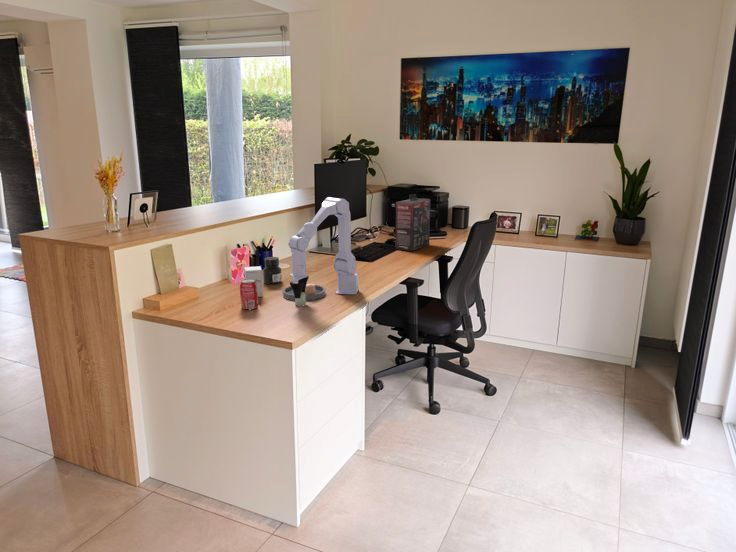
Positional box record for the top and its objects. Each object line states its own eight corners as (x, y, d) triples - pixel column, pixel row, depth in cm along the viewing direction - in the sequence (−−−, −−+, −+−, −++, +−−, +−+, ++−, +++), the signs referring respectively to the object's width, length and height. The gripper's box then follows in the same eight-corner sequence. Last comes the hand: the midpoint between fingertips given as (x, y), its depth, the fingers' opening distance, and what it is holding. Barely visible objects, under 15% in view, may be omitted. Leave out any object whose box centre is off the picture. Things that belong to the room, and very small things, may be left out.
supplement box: (246, 298, 245) (244, 270, 242) (245, 293, 252) (243, 266, 249) (263, 296, 247) (261, 269, 244) (261, 292, 254) (260, 265, 250)
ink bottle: (277, 285, 265) (276, 261, 262) (260, 284, 266) (259, 260, 263) (284, 280, 274) (283, 256, 271) (268, 279, 276) (266, 255, 273)
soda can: (251, 304, 236) (249, 277, 233) (261, 307, 232) (260, 280, 229) (237, 308, 231) (235, 280, 228) (248, 311, 227) (246, 283, 224)
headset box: (413, 242, 362) (414, 192, 353) (430, 244, 356) (431, 193, 347) (394, 249, 342) (395, 195, 333) (412, 252, 335) (413, 197, 327)
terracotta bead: (316, 294, 248) (316, 283, 247) (314, 297, 244) (314, 286, 242) (306, 294, 248) (306, 283, 247) (304, 297, 244) (304, 286, 243)
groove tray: (328, 289, 258) (328, 284, 258) (320, 301, 240) (320, 296, 240) (289, 287, 261) (289, 283, 260) (278, 299, 243) (277, 295, 242)
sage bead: (306, 303, 238) (306, 292, 236) (304, 306, 234) (303, 295, 232) (296, 303, 238) (296, 291, 237) (294, 306, 234) (293, 294, 233)
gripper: (294, 260, 239) (295, 290, 242) (285, 268, 225) (286, 300, 228) (310, 260, 238) (310, 291, 241) (302, 268, 224) (302, 300, 227)
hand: (299, 295), depth 235 cm, fingers open, 7 cm apart
